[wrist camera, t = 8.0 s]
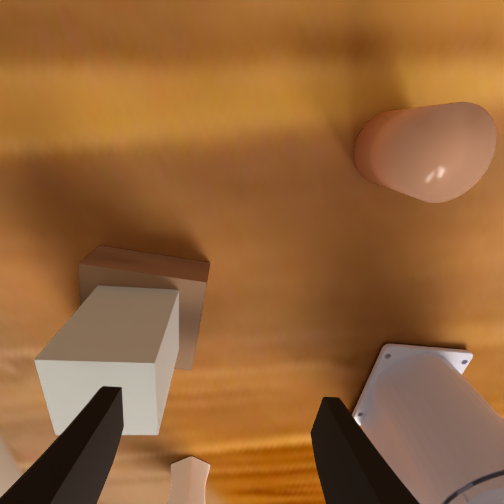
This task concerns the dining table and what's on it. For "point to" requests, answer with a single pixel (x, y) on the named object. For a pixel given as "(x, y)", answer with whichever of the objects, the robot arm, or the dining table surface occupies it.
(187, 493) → the perfume bottle
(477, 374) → the dining table surface
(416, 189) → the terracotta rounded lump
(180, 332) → the walnut slab
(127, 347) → the grey block
